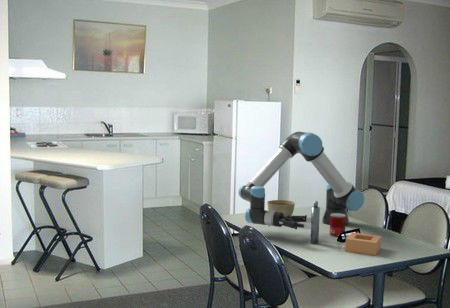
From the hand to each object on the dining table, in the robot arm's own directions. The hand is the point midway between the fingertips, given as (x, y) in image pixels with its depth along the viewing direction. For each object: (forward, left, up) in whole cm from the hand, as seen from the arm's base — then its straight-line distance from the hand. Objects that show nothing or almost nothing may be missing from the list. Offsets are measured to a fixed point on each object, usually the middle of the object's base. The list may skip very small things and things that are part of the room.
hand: (315, 223), depth 268 cm
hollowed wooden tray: (0, +24, -10) cm, 26 cm away
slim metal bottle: (0, 0, -10) cm, 10 cm away
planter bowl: (-39, -32, -10) cm, 52 cm away
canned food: (-22, +6, -10) cm, 25 cm away
